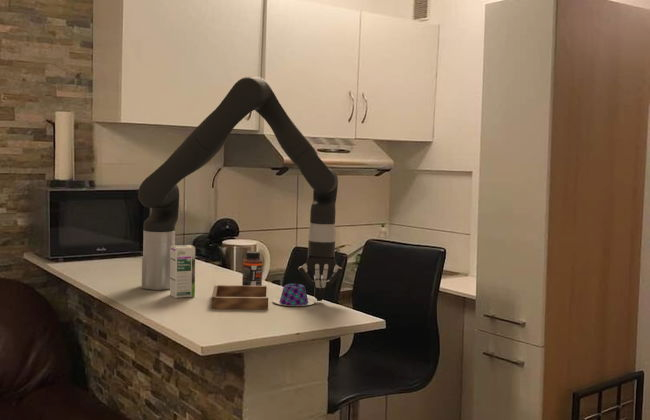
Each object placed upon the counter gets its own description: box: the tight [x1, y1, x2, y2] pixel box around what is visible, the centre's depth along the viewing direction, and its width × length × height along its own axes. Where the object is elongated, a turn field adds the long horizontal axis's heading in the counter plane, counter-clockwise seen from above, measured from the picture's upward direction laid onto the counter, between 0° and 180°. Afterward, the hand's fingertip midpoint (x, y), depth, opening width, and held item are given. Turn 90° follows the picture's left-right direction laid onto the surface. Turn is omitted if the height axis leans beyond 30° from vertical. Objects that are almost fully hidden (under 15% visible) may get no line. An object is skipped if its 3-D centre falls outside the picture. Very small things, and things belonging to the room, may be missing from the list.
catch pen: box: [211, 284, 269, 310], centre depth 202 cm, size 15×17×3 cm
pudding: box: [272, 283, 316, 307], centre depth 204 cm, size 12×12×5 cm
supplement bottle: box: [241, 250, 263, 286], centre depth 222 cm, size 6×6×11 cm
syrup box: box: [169, 244, 196, 299], centre depth 208 cm, size 6×6×14 cm
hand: (319, 300), depth 205 cm, fingers closed
